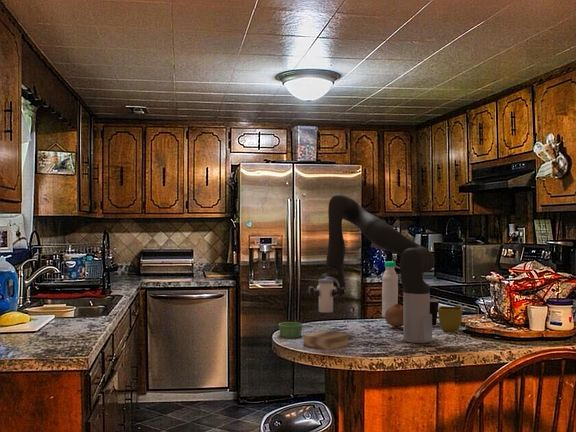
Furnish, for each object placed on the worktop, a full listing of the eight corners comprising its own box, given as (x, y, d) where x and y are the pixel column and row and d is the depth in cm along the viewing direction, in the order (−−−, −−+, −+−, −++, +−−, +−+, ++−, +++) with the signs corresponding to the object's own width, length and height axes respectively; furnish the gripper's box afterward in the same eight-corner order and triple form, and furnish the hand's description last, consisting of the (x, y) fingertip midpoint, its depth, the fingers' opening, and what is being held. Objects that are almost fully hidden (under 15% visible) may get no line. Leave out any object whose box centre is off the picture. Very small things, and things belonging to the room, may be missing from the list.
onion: (411, 330, 217) (411, 305, 217) (387, 330, 217) (387, 304, 217) (406, 326, 227) (406, 301, 227) (383, 325, 227) (383, 301, 227)
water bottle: (399, 316, 249) (399, 261, 250) (395, 319, 243) (395, 262, 243) (384, 315, 252) (384, 260, 253) (380, 318, 246) (380, 261, 246)
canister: (336, 311, 191) (336, 279, 192) (326, 313, 188) (326, 280, 188) (324, 309, 195) (324, 278, 195) (315, 311, 191) (315, 279, 191)
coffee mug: (439, 326, 226) (439, 302, 226) (418, 325, 228) (418, 301, 228) (437, 321, 237) (437, 298, 237) (417, 320, 239) (417, 297, 239)
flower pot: (437, 331, 215) (437, 308, 215) (440, 328, 223) (440, 305, 223) (461, 333, 211) (461, 310, 211) (462, 329, 219) (462, 307, 220)
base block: (348, 344, 191) (348, 334, 191) (328, 350, 183) (328, 339, 183) (323, 340, 198) (323, 330, 198) (303, 344, 190) (303, 334, 190)
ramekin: (274, 337, 204) (274, 325, 204) (284, 332, 212) (284, 321, 212) (296, 339, 200) (296, 327, 200) (306, 334, 208) (306, 323, 208)
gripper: (309, 277, 207) (304, 282, 190) (348, 278, 204) (346, 283, 188) (309, 297, 206) (304, 304, 190) (348, 298, 204) (346, 305, 188)
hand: (325, 293), depth 189 cm, fingers closed on canister, 5 cm apart
